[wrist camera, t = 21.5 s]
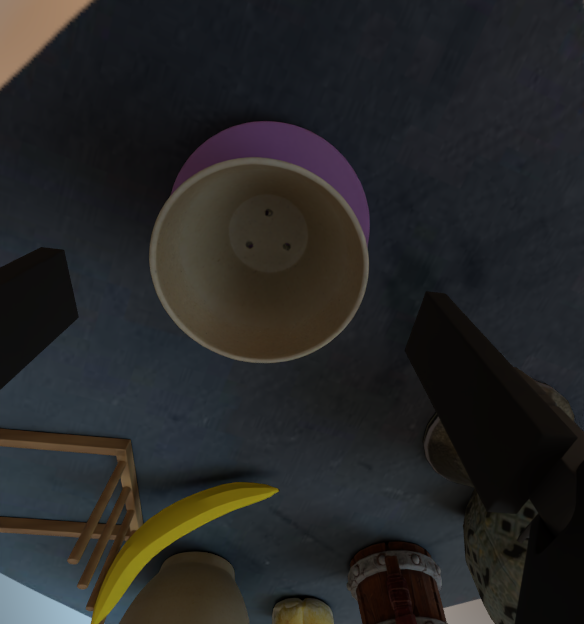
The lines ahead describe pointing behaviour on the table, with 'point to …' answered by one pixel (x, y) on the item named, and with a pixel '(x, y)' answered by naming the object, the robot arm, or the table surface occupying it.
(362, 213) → the lid
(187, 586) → the planter bowl
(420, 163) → the table surface
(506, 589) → the lantern
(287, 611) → the bread roll
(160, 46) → the table surface
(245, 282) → the flower pot
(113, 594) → the banana
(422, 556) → the mug
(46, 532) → the rack
